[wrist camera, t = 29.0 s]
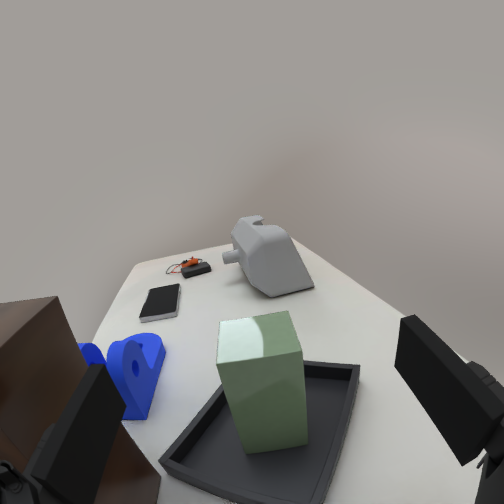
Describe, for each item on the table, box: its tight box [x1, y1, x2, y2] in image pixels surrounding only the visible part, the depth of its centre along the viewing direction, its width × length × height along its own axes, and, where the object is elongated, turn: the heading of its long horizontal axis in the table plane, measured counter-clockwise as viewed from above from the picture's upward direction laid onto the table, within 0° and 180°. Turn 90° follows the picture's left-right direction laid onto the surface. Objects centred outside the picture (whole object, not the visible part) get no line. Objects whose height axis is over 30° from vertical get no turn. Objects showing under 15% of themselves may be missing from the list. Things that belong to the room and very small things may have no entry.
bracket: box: [78, 333, 166, 420], centre depth 35 cm, size 18×8×9 cm, turn 4°
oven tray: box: [158, 360, 360, 504], centre depth 25 cm, size 15×19×3 cm
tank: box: [222, 215, 314, 297], centre depth 65 cm, size 25×16×12 cm, turn 12°
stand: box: [0, 296, 161, 504], centre depth 13 cm, size 9×9×20 cm
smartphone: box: [139, 284, 181, 323], centre depth 60 cm, size 8×1×15 cm
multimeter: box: [166, 257, 211, 278], centre depth 82 cm, size 18×12×3 cm, turn 20°
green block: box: [216, 311, 308, 454], centre depth 23 cm, size 6×6×12 cm
